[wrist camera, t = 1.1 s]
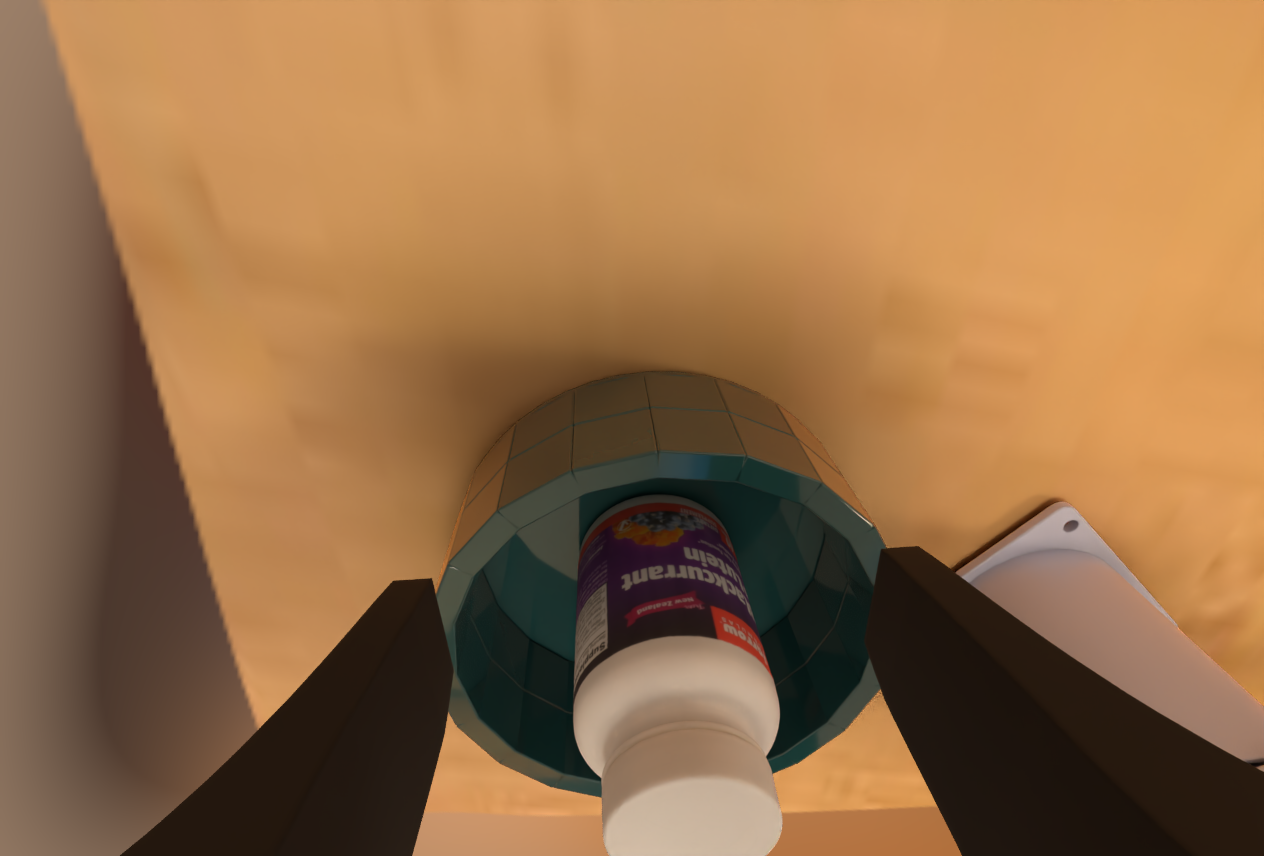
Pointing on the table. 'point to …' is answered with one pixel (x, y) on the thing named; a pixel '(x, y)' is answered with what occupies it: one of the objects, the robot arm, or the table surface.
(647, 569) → the pill bottle
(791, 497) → the pot
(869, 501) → the table surface
